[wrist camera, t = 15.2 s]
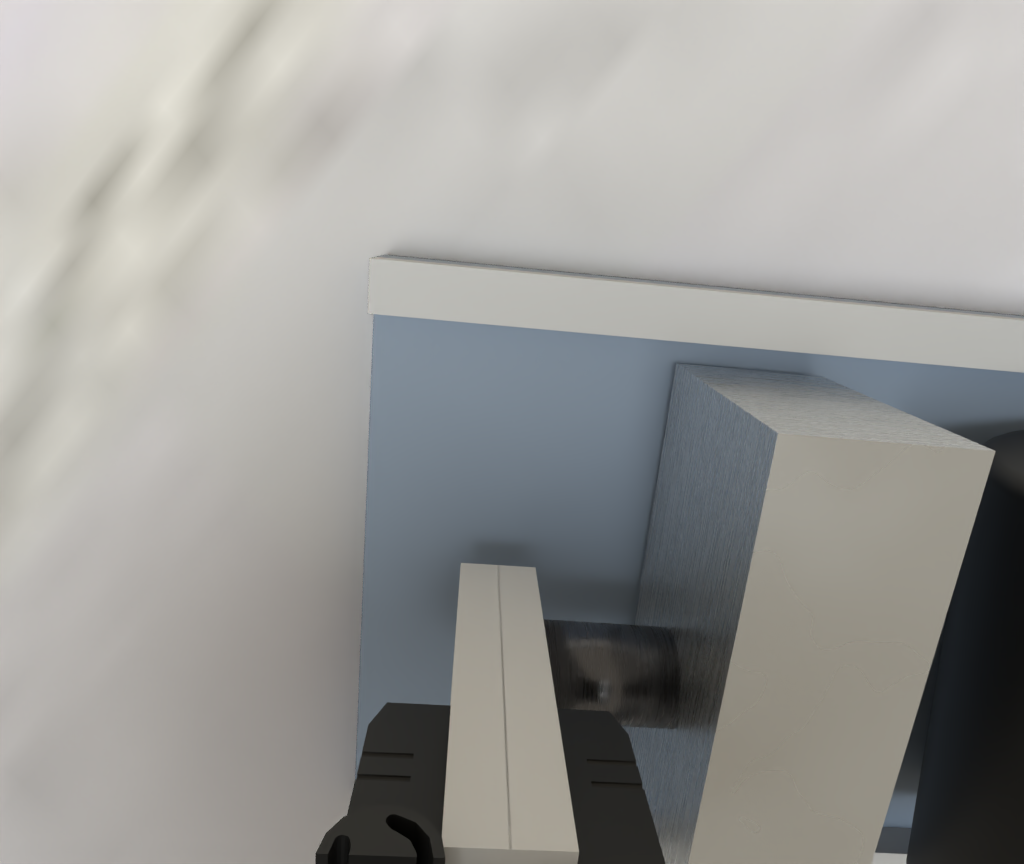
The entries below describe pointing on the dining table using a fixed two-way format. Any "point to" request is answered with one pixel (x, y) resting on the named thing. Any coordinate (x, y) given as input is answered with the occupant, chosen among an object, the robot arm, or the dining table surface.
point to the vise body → (600, 438)
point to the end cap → (980, 690)
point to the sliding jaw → (780, 615)
